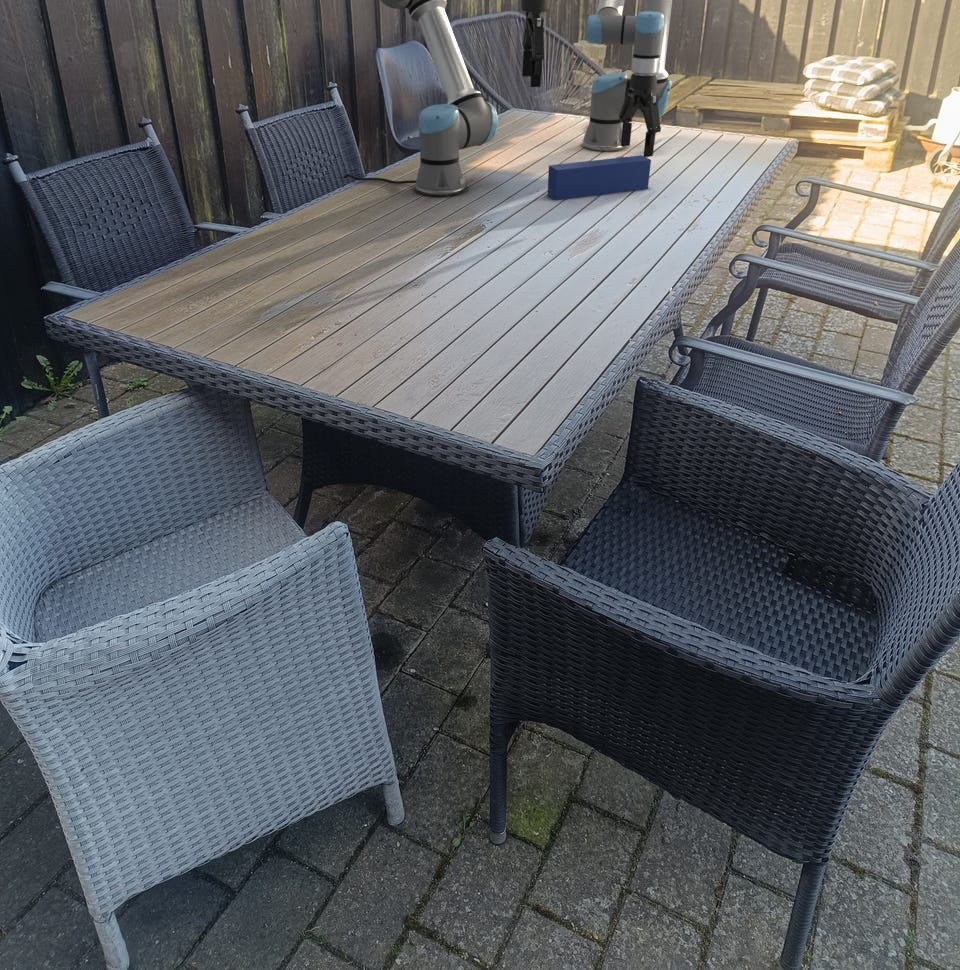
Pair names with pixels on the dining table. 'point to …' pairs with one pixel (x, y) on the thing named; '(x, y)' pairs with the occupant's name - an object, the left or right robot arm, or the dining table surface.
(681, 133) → the dining table surface
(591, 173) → the bar
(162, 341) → the dining table surface
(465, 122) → the left robot arm
